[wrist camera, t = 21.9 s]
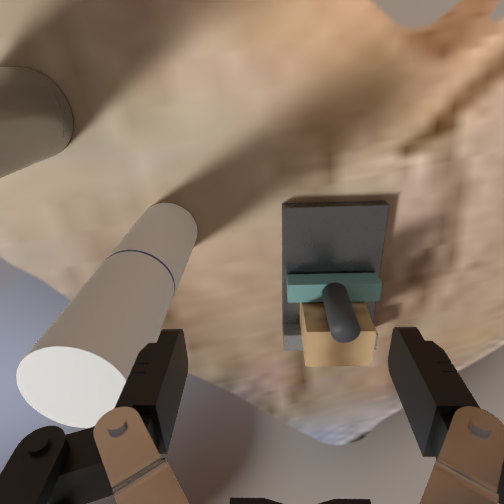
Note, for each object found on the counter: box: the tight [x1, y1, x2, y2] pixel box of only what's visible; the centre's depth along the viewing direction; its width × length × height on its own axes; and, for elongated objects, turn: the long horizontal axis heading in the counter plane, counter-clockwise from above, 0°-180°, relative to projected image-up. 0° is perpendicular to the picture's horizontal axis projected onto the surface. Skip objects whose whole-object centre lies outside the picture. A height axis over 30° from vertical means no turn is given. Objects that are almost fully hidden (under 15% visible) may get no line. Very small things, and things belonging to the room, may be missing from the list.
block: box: [300, 301, 377, 366], centre depth 44 cm, size 8×5×8 cm, turn 92°
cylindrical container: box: [16, 203, 198, 428], centre depth 34 cm, size 7×7×25 cm
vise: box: [282, 201, 389, 350], centre depth 45 cm, size 12×19×4 cm, turn 2°
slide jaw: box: [287, 273, 382, 343], centre depth 41 cm, size 11×3×10 cm, turn 92°
